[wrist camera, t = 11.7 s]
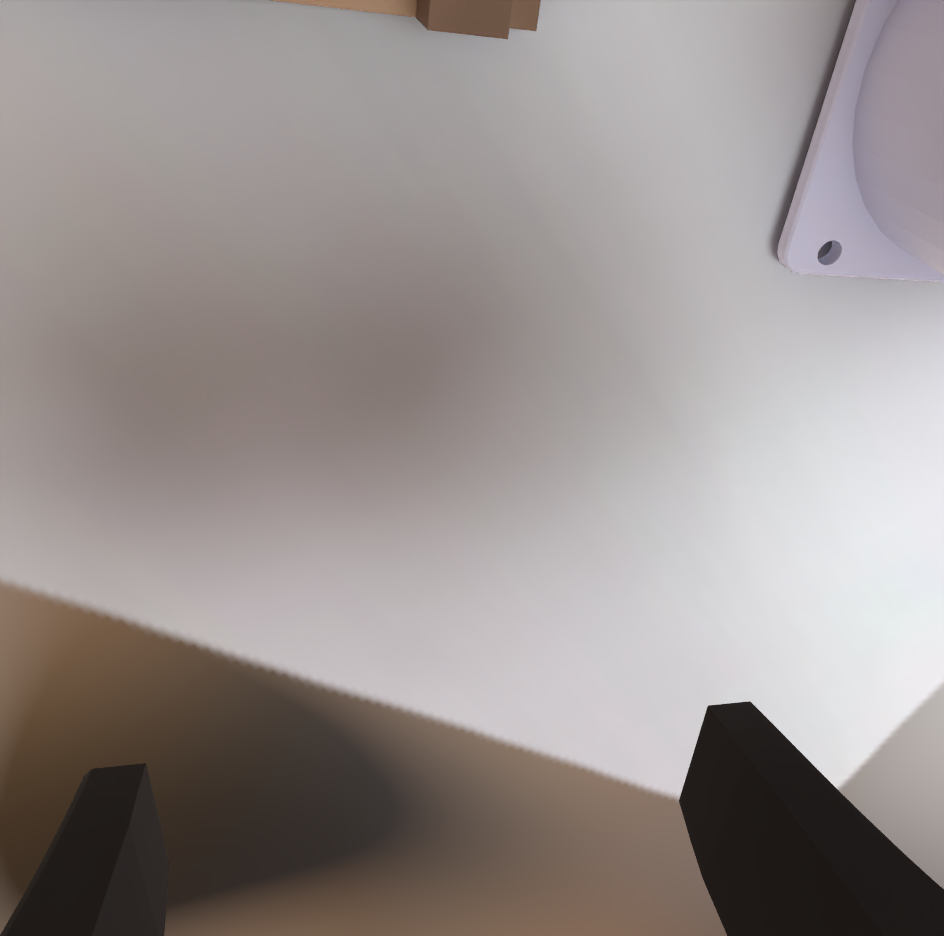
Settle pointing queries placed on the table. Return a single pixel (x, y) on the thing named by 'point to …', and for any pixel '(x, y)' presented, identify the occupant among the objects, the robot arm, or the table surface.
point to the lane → (451, 13)
